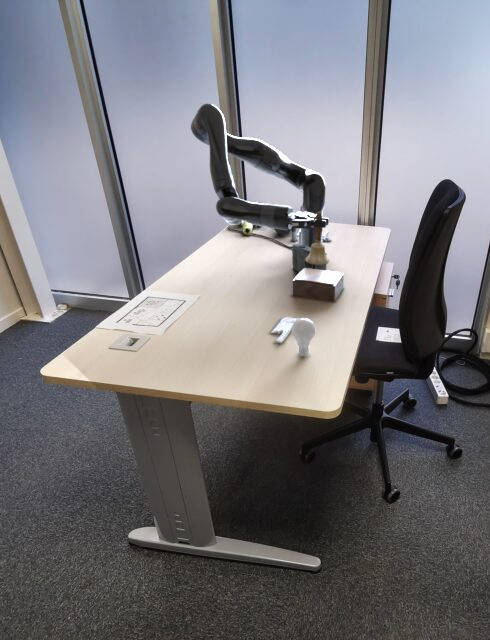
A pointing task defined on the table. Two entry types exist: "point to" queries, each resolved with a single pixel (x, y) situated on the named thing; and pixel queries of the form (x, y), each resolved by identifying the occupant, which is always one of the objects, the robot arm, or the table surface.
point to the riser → (318, 284)
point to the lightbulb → (303, 334)
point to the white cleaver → (284, 328)
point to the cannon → (247, 227)
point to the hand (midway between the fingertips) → (326, 223)
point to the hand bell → (317, 248)
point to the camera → (303, 258)
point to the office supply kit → (294, 232)
